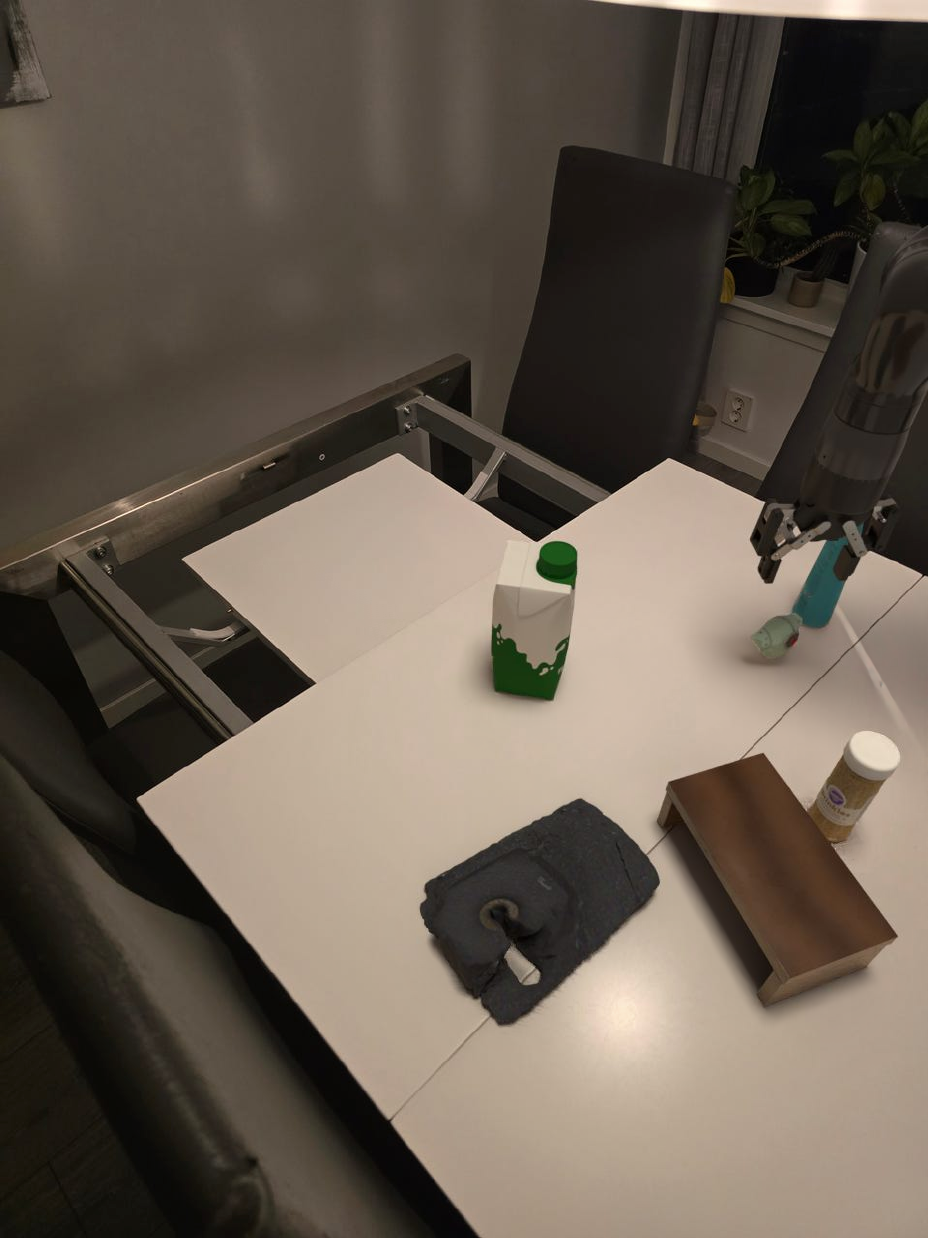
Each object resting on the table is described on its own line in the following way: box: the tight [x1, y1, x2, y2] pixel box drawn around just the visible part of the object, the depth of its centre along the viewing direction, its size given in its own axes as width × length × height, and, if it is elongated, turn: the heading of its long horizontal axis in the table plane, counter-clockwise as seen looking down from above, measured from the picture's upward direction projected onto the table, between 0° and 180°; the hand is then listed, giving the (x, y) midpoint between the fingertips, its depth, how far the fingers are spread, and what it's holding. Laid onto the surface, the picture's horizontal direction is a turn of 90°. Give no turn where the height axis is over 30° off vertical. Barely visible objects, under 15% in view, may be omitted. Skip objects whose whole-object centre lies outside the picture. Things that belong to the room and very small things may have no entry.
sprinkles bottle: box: [806, 730, 901, 843], centre depth 77 cm, size 5×5×14 cm
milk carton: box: [490, 539, 579, 701], centre depth 90 cm, size 9×9×20 cm
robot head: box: [749, 613, 803, 659], centre depth 96 cm, size 8×4×7 cm, turn 122°
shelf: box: [656, 752, 899, 1007], centre depth 75 cm, size 11×20×7 cm, turn 19°
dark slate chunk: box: [419, 797, 661, 1023], centre depth 74 cm, size 15×22×5 cm
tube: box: [791, 521, 865, 629], centre depth 97 cm, size 7×5×19 cm, turn 169°
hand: (802, 577), depth 89 cm, fingers open, 8 cm apart
